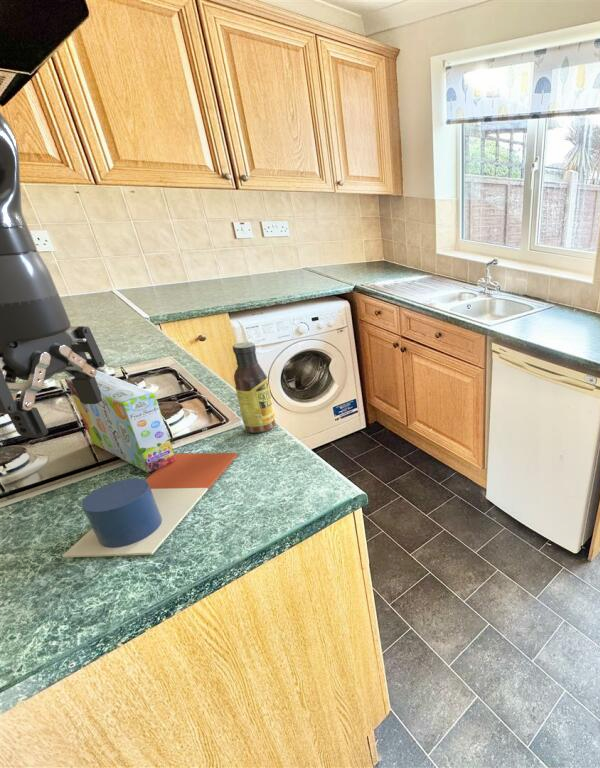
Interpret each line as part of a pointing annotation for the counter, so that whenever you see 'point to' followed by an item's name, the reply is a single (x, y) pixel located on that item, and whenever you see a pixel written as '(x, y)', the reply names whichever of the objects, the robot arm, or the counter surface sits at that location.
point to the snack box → (126, 423)
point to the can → (122, 512)
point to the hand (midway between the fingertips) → (66, 418)
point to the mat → (165, 501)
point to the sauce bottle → (252, 390)
